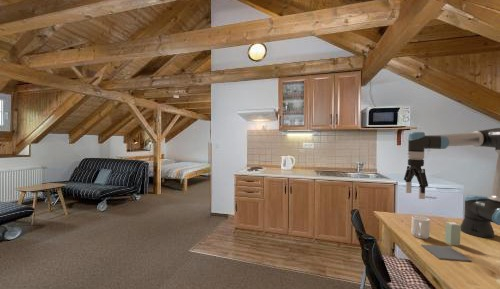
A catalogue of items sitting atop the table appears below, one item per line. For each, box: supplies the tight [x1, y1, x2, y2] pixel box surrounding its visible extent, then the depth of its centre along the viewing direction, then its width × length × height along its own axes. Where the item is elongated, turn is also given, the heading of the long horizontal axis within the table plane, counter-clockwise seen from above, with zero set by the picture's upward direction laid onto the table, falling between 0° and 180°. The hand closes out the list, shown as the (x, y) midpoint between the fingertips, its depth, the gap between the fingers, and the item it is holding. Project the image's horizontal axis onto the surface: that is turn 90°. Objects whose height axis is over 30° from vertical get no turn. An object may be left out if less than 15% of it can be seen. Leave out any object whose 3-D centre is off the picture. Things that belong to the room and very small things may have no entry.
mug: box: [410, 215, 431, 240], centre depth 136 cm, size 9×12×11 cm
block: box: [444, 221, 462, 246], centre depth 128 cm, size 4×4×11 cm
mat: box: [420, 244, 472, 262], centre depth 117 cm, size 14×14×1 cm
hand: (414, 195), depth 134 cm, fingers open, 13 cm apart
